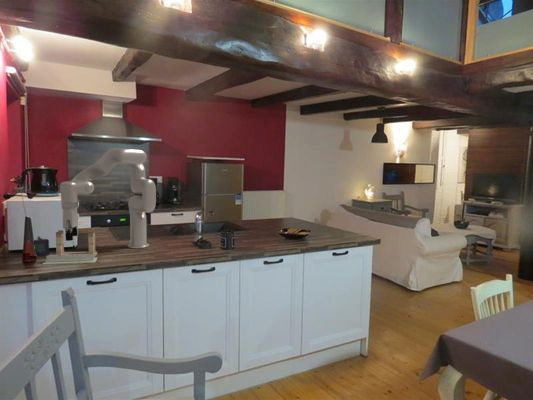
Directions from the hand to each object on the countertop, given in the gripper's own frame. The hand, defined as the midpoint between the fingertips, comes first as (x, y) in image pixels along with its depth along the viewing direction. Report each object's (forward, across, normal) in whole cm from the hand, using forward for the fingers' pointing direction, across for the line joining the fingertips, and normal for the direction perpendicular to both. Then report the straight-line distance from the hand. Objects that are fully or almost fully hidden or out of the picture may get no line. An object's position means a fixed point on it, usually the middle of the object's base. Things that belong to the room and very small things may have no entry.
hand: (71, 238), depth 192 cm
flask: (+12, -14, -20) cm, 27 cm away
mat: (+12, +1, -1) cm, 12 cm away
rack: (+13, -11, -1) cm, 16 cm away
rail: (+12, +1, -1) cm, 12 cm away
